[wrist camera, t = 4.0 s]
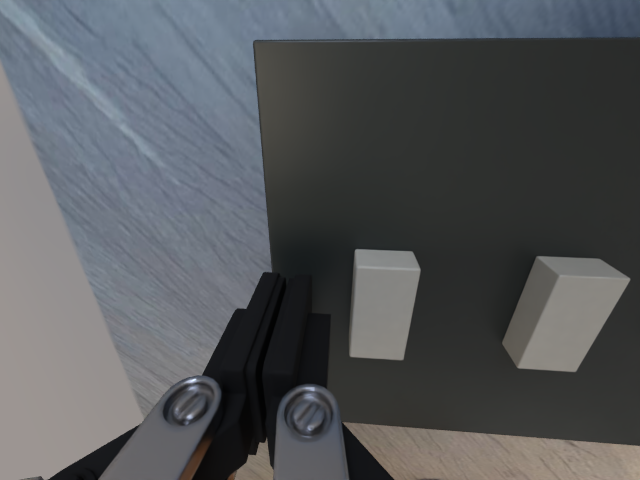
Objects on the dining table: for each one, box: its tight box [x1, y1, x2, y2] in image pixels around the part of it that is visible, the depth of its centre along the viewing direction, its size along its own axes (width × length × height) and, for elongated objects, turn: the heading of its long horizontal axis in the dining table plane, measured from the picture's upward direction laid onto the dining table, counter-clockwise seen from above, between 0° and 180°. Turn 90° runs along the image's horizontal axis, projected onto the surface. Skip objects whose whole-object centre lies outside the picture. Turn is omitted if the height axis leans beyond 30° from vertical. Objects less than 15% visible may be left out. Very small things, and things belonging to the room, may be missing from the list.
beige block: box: [349, 249, 421, 360], centre depth 10 cm, size 4×2×1 cm, turn 0°
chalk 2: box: [502, 256, 630, 372], centre depth 10 cm, size 4×2×1 cm, turn 0°
